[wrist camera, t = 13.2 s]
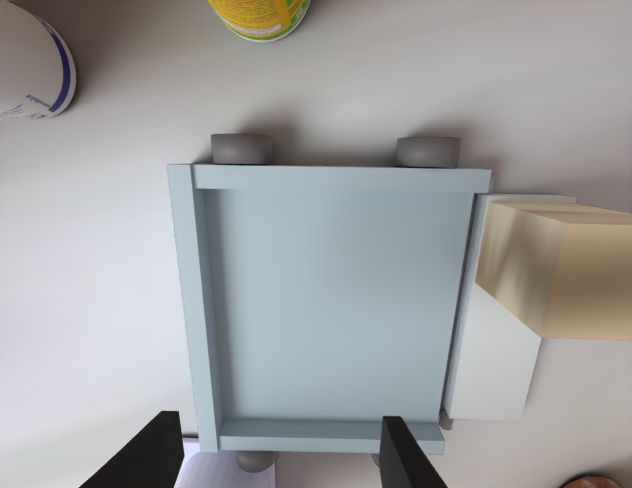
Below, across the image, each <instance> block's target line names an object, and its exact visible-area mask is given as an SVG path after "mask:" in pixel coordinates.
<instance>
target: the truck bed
mask: <svg viewBox="0 0 632 488" xmlns="http://www.w3.org/2000/svg"><path fill="white" fill-rule="evenodd" d="M211 142H212V155H213V163H227V164H166V166H167V174H168V183H169V191H170V200H171V208H172V216H173V225H174V233H175V242H176V250H177V259H178V267H179V276H180V284H181V293H182V301H183V310H184V318H185V327H186V335H187V343H188V352H189V360H190V369H191V377H192V386H193V394H194V403H195V411H196V420H197V428H198V437H199V445H200V452H215V453H218V451H219V450H235V456H236V462H237V464H238V466H239V467H240V468H241V469H243V470H244V471H246V472H250V473H258V472H262V471H264V470H266V469H268V468H269V467H271V466H272V465H273V464H274V463H275V461H276V460H277V458H278V455H279V451H293V452H337V453H371V454H372V458H373V460H374V462H375V463H376V465H377V466H378V467H379V451H380V441H381V430H382V420H383V416H401V417H402V418H403V420H404V421H405V423H406V425H407V427H408V428H409V430H410V432H411V433H412V435H413V436H414V438H415V440H416V441H417V443H418V444H419V446H420V448H421V449H422V451H423V452H424V454H426V455H443V451H444V445H445V440H444V437H443V435H442V433H441V431H440V428H439V426H438V424H437V423H438V416H439V410H440V404H441V397H442V391H443V385H444V379H445V372H446V366H447V360H448V353H449V347H450V341H451V335H452V328H453V322H454V316H455V309H456V303H457V297H458V291H459V284H460V278H461V272H462V265H463V259H464V253H465V247H466V240H467V234H468V228H469V221H470V215H471V209H472V203H473V196H474V193H488V192H494V186H495V181H496V175H497V174H491V171H492V170H490V169H475V168H439V167H457V164H458V157H459V150H460V143H461V138H452V137H411V138H399V139H397V151H396V163H395V166H419V167H377V166H314V165H252V164H273V146H272V137H271V136H265V135H251V134H213V135H211ZM452 424H453V419H449V417H448V415H447V413H446V410H445V409H443V410H441V413H440V419H439V425H440V426H441V427H442V428H443V429H445V430H451V429H452ZM379 468H380V467H379Z"/></svg>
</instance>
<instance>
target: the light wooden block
mask: <svg viewBox="0 0 632 488" xmlns="http://www.w3.org/2000/svg"><path fill="white" fill-rule="evenodd" d="M475 283H477V284H478V285H479V286H480V287H481V288H482V289H484V290H485V291H486V292H487V293H488V294H489V295H491V296H492V297H493V298H494V299H495V300H496V301H498V302H499V303H500V304H501V305H502V306H504V307H505V308H506V309H507V310H508V311H509V312H511V313H512V314H513V315H514V316H515V317H516V318H518V319H519V320H520V321H521V322H522V323H523V324H525V325H526V326H527V327H528V328H529V329H530V330H532V331H533V332H534V333H535V334H536V335H537V336H539V337H548V338H574V339H600V340H627V341H632V213H626V212H621V211H615V210H610V209H604V208H599V207H594V206H588V205H583V204H569V203H521V202H489V204H488V209H487V215H486V221H485V227H484V232H483V238H482V244H481V249H480V255H479V261H478V267H477V272H476V278H475Z"/></svg>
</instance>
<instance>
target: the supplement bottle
mask: <svg viewBox="0 0 632 488" xmlns="http://www.w3.org/2000/svg"><path fill="white" fill-rule="evenodd" d="M208 2H209V3H210V4H211V6H212V7H213V9H214V10H215V12H216V13H217V15H218V16H219V17H220V19H221V20H222V21H223V22H224V24H225V25H226V26H227V27H228V28H229V29H230V30H232V31H233V32H234V33H235V34H237V35H239V36H240V37H242V38H244V39H247V40H250V41H253V42H262V43H266V42H272V41H276V40H279V39H281V38H283V37H285V36H287V35H288V34H289V33H291V32H292V31H293V30H294V29H295V28H296V27H297V26H298V25H299V23H300V22H301V21H302V19H303V17H304V15H305V13H306V11H307V9H308V6H309V3H310V0H208Z"/></svg>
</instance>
